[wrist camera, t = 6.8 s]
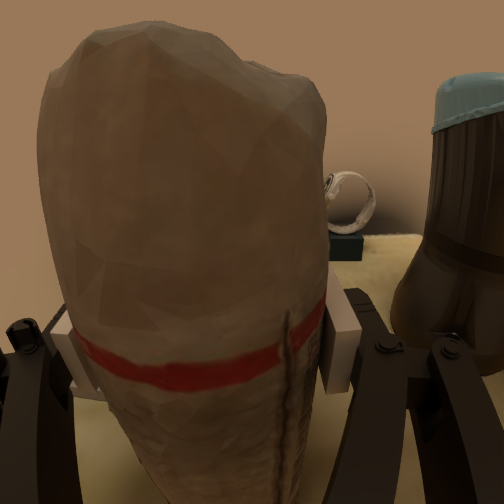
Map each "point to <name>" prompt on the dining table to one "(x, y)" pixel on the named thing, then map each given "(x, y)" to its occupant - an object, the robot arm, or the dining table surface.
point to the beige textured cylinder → (191, 252)
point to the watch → (347, 235)
